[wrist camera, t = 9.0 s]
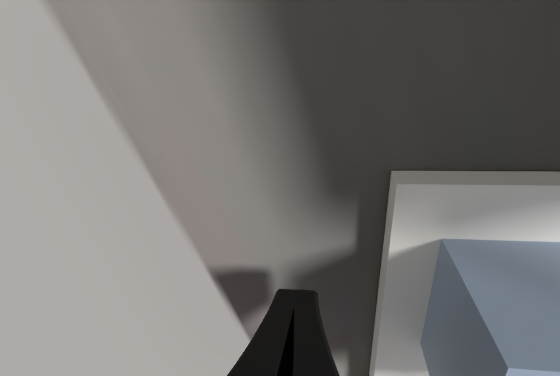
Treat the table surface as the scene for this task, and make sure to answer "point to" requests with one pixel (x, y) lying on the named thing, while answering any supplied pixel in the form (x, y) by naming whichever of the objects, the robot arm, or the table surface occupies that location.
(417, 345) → the rail board
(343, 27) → the table surface
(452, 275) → the block
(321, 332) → the robot arm
